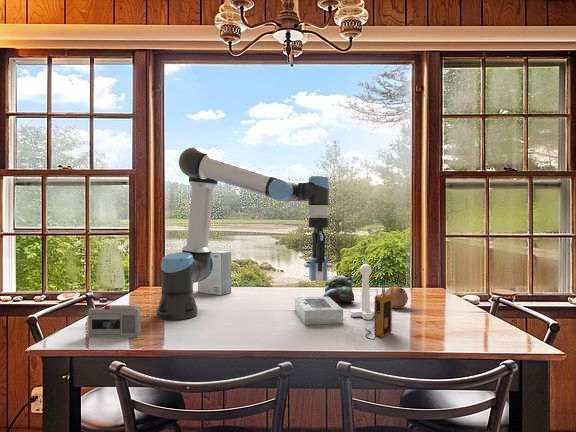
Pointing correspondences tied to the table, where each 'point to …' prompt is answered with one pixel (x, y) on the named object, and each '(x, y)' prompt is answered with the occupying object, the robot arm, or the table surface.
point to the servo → (312, 269)
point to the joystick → (364, 295)
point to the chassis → (318, 310)
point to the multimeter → (382, 313)
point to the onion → (398, 297)
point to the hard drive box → (218, 275)
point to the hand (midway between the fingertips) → (318, 278)
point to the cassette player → (114, 321)
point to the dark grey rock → (340, 289)
